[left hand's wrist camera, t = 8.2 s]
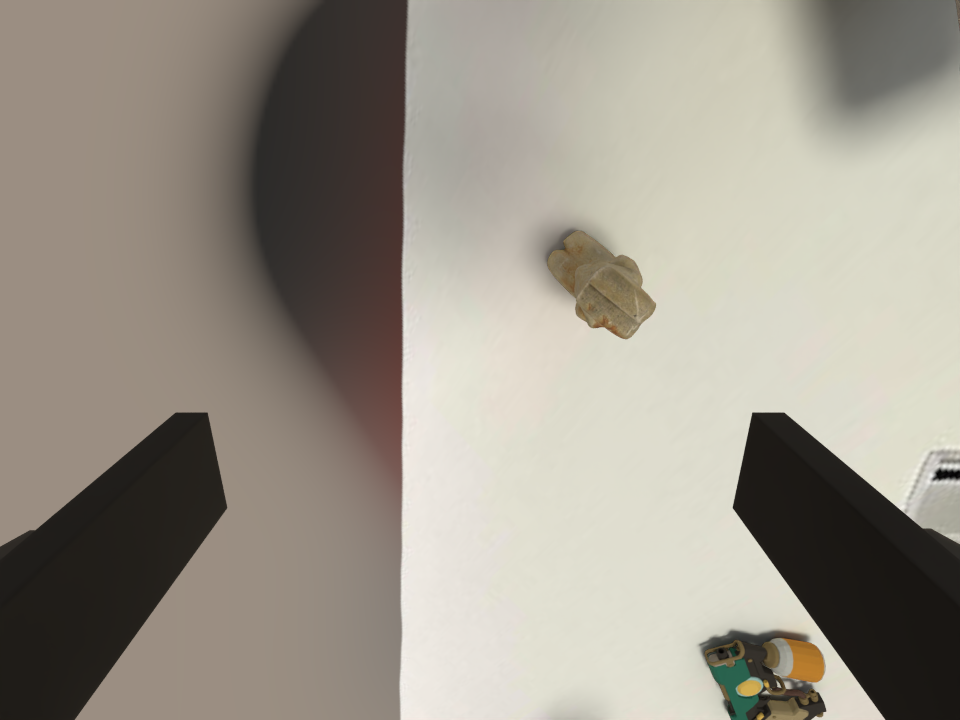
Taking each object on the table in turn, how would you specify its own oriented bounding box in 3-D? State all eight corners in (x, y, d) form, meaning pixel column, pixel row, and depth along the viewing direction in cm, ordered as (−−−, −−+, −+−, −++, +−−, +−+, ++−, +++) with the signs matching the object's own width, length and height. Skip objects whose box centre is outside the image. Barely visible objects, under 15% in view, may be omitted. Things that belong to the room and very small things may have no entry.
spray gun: (811, 707, 71) (697, 714, 72) (826, 621, 64) (699, 631, 65) (829, 741, 67) (708, 748, 68) (848, 653, 60) (712, 663, 61)
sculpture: (581, 216, 47) (624, 242, 33) (635, 271, 49) (697, 317, 35) (535, 264, 49) (557, 307, 35) (588, 315, 50) (630, 376, 36)
